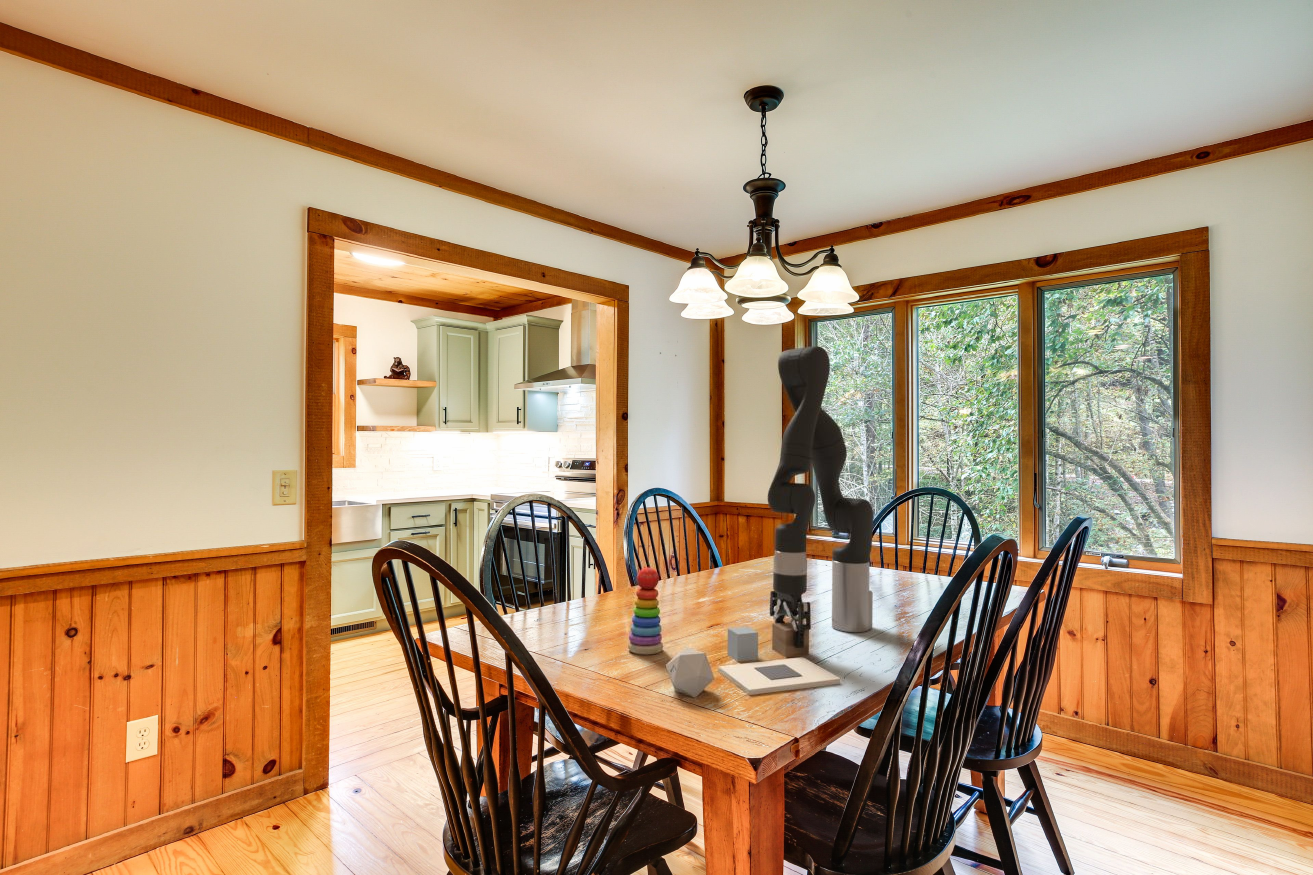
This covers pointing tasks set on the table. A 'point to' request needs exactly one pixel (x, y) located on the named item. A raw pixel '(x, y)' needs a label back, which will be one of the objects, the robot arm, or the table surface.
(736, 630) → the slate block
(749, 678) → the cream board
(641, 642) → the stacking toy
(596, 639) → the table surface
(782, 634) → the walnut block
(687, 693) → the die
